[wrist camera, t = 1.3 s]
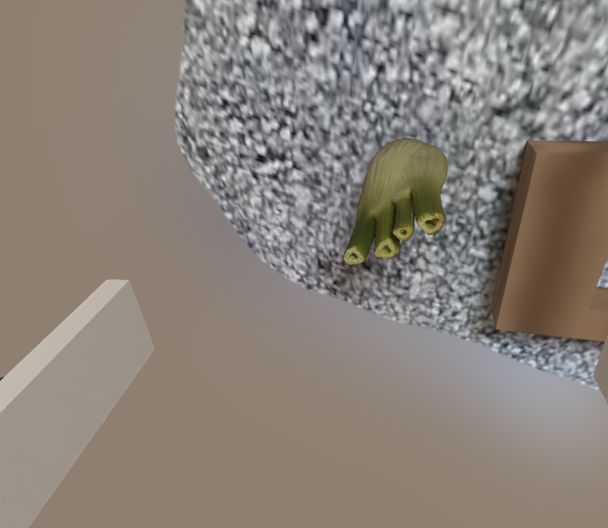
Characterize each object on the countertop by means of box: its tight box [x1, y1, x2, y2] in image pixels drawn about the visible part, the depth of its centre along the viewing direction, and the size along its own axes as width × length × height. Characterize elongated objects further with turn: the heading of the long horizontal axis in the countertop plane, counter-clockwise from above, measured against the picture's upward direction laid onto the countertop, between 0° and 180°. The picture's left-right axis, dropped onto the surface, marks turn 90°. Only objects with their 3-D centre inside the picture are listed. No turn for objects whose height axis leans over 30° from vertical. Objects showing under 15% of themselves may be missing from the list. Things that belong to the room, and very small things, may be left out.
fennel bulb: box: [343, 138, 447, 265], centre depth 27 cm, size 6×5×12 cm
